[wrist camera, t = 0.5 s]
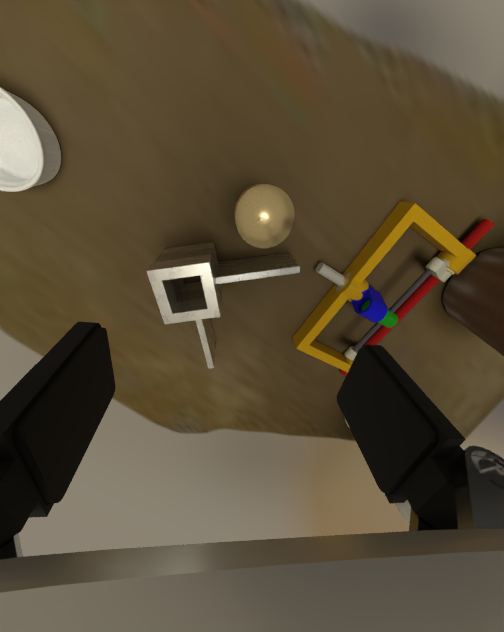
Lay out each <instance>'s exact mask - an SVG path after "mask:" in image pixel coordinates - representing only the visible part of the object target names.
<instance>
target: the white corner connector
mask: <svg viewBox="0 0 504 632" xmlns="http://www.w3.org/2000/svg"><path fill="white" fill-rule="evenodd" d="M294 273H300V266H299V265H298V264H297V262H296V261H295V260H294V258H293V257H292V256H291V255H290V253H282V254H275V255H267V256H260V257H253V258H245V259H238V260H230V261H223V262H218V261H217V256H216V250H215V245H214V242H209V243H202V244H194V245H187V246H179V247H172V248H166V249H165V250H164V251H163V252H162V254H161V255H160V256H159V257H158V258H157V259H156V261H155V262H154V263H153V264H152V265H151V266H150V268H149V269H148V270H147V274H148V277H149V280H150V283H151V286H152V289H153V292H154V294H155V297H156V300H157V303H158V306H159V309H160V312H161V315H162V318H163V321H164V324H171V323H178V322H185V321H192V320H196V324H197V327H198V331H199V335H200V339H201V342H202V346H203V350H204V353H205V357H206V361H207V365H208V368H209V369H210V368H214V362H215V349H216V342H215V337H214V333H213V329H212V324H211V320H210V318H214V317H220V315H221V298H222V283H228V282H235V281H243V280H250V279H257V278H265V277H272V276H279V275H287V274H294ZM199 275H200V277H201V281H198V282H190V283H185V282H184V277H191V276H199Z"/></svg>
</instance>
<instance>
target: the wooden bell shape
mask: <svg viewBox="0 0 504 632" xmlns="http://www.w3.org/2000/svg"><path fill="white" fill-rule="evenodd" d="M294 218H295V213H294V207H293V204H292V201H291V199H290V198H289V196H288V195H287V194H286V193H285V192H284V191H283V190H282V189H280V188H279V187H276V186H273V185H269V184H255V185H252V186H250V187H248V188H247V189H245V190H244V191H243V192H242V193H241V195H240V196H239V198H238V200H237V202H236V205H235V222H236V227H237V230H238V232H239V234H240V235H241V237H242V238H243V239H244V240H245V241H246V242H247V243H248V244H250V245H252V246H254V247H257V248H271V247H274V246H276V245H278V244H280V243H281V242H282V241H284V240H285V239H286V237H287V236H288V235H289V233H290V232H291V230H292V227H293V224H294Z"/></svg>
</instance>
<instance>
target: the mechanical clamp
mask: <svg viewBox="0 0 504 632" xmlns="http://www.w3.org/2000/svg"><path fill="white" fill-rule="evenodd" d="M494 225H495V224H494V223H493V222H492V221H490V220H487V219H483V220H482V221H481V222H480V223H479V224H478V225H477V226H476V227H475V228H474V229H473V231H472V232H471V233H470V234H469V235H468V236H467V237H466V238H465V239H464V240H463V241H462V242H461V243H460V242H459V241H458V240H457V239H456V238H455V237H454V236H452V235H451V234H450V233H449V232H448V231H447V230H445V229H444V228H443V227H442V226H441V225H440V224H439V223H437V222H436V221H435V220H434V219H433V218H432V217H431V216H429V215H428V214H427V213H426V212H425V211H424V210H422V209H421V208H420V207H419V206H418V205H417V204H416V203H411V202H404V201H400V203H399V204H398V205H397V206H396V208H395V209H394V210H393V211H392V213H391V214H390V215H389V216H388V218H387V219H386V220H385V222H384V223H383V224H382V225H381V227H380V228H379V229H378V230H377V232H376V233H375V234H374V235H373V237H372V238H371V239H370V240H369V242H368V243H367V244H366V245H365V247H364V248H363V249H362V251H361V252H360V253H359V254H358V256H357V257H356V258H355V259H354V261H353V262H352V263H351V264H350V266H349V267H348V268H347V269H346V271H345V272H344V273H343V275H342V274H340V273H338V272H337V271H335V270H334V269H332V268H331V267H329V266H327V265H326V264H324V263H323V262H321V263H319V264H318V266H317V267H316V272H318V273H319V274H321V275H322V276H324V277H326V278H327V279H329V280H331V281H332V282H334V283H335V285H334V286H333V287H332V288H331V290H330V291H329V292H328V293H327V295H326V296H325V297H324V298H323V300H322V301H321V302H320V304H319V305H318V306H317V307H316V309H315V310H314V311H313V312H312V314H311V315H310V316H309V317H308V319H307V320H306V321H305V322H304V324H303V325H302V326H301V328H300V329H299V330H298V331H297V333H296V334H295V335H294V336H293V338H292V339H293V342H294V344H295V347H296V349H298V350H301V351H303V352H305V353H307V354H309V355H311V356H313V357H316V358H318V359H320V360H322V361H324V362H326V363H328V364H331V365H333V366H335V367H337V368H339V371H340V372H341V373H342V374H343V375H345V376H346V375H347V373H348V371H349V369H350V367H351V365H352V363H353V361H354V359H355V357H356V354H357V352H358V350H359V349H360V348H362V347H363V346H364V345H366V344H370V345H376V344H377V343H378V342H379V341H380V340H381V339H382V338H383V337H384V336H385V335H386V334H387V333H388V332H389V331H390V330H391V329H392V328H393V327H394V326H395V325H396V324H397V323H398V322H399V321H400V320H401V319H402V318H403V317H404V316H405V315H406V314H407V313H408V312H409V311H410V310H411V309H412V308H413V307H414V306H415V305H416V304H417V303H418V302H419V301H420V300H421V299H422V298H423V297H424V296H425V295H426V294H427V293H428V292H429V291H430V290H431V289H432V288H433V287H434V286H435V285H436V284H437V283H438V282H439V281H441V282H443V283H444V282H445V281H446V280H447V279H448V278H449V277H450V276H451V275H454V274H456V275H458V274H459V273H460V272H461V271H462V270H463V269H464V268H465V267H466V266H467V265H468V264H469V263H470V262H471V261H472V260H473V259H474V258H475V257H476V255H475V254H474V253H473V252H472V251H471V250H470V249H471V248H472V247H473V246H474V245H475V244H476V243H477V242H478V241H479V240H480V239H481V238H482V237H483V236H484V235H485V234H486V233H487V232H488V231H489V230H490V229H491V228H492V227H493V226H494ZM409 226H411V227H412V228H413V229H414V230H415V231H417V232H418V233H419V234H420V235H422V236H423V237H424V238H425V239H426V240H428V241H429V242H430V243H431V244H433V245H434V246H435V247H436V248H437V249H439V250H440V251H441V252H440V253H439V254H438V255H437V256H436V257H434V258H433V259H432V260H431V261H430V262H429V263H428V264H427V265H426V266H425V267H426V269H427V270H426V271H425V272H424V273H423V274H422V275H421V276H420V277H419V278H418V279H417V280H416V281H415V283H414V284H413V285H412V286H411V287H410V288H409V289H408V290H407V291H406V292H405V293H404V294H403V295H402V296H401V297H400V298H399V299H398V301H397V302H396V303H395V304H394V305H393V306H392V307H391V308H390V309H389V310H388V309H387V306H386V304H385V302H384V300H383V298H382V296H381V294H380V293H379V292H378V291H377V290H375V289H374V288H372V287H370V286H369V285H368V282H367V281H366V280H365V278H366V277H367V276H368V275H369V273H370V272H371V271H372V270H373V269H374V268H375V266H376V265H377V264H378V263H379V262H380V260H381V259H382V258H383V257H384V256H385V254H386V253H387V252H388V251H389V250H390V249H391V247H392V246H393V245H394V244H395V243H396V241H397V240H398V239H399V238H400V237H401V235H402V234H403V233H404V232H405V231H406V230H407V228H408V227H409ZM347 300H349V301H350V302H352V304H353V306H354V309H355V312H356V313H358V314H360V315H361V316H363V317H365V318H366V319H368V320H370V321H372V322H377V323H376V324H375V325H374V326H373V327H372V328H371V329H370V330H369V331H368V332H367V333H366V334H365V335H364V337H363V338H362V339H361V340H360V341H359V342H358V343H357V344H356V345H355V346H351V347H350V348H349V349H348V350H347V351H346V352H345V353H344V354H342V353H340V352H337V351H335V350H333V349H331V348H329V347H327V346H325V345H323V344H321V343H319V342H317V341H315V340H314V339H315V338H316V336H317V335H318V334H319V333H320V332H321V330H322V329H323V328H324V327H325V326H326V325H327V323H328V322H329V321H330V320H331V319H332V317H333V316H334V315H335V314H336V313H337V311H338V310H339V309H340V308H341V307H342V306H343V304H344V303H345V302H346V301H347Z"/></svg>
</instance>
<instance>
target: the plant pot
mask: <svg viewBox="0 0 504 632" xmlns="http://www.w3.org/2000/svg"><path fill="white" fill-rule="evenodd" d="M443 304H444V306H445V308H446V312H447V313H448V314H449V315H450V316H451V317H453V318H454V319H456V320H457V321H458V322H460V323H461V324H462V325H464V326H465V327H466V328H468V329H469V330H470V331H472V332H473V333H474V334H475V335H477V336H478V337H479V338H481V339H482V340H483V341H485V342H486V343H487V344H489V345H490V346H491V347H493V348H494V349H495V350H496V351H498V352H499V353H500V354H501V355H503V356H504V248H494V249H489V250H486V251H483V252H481V253H479V254H478V256H477V257H475V258H474V259H473V260H472V261H471V262H470V263H469V264H468V265H467V266H466V267H465V268H464V269H463V270H462V271H461V272H460V273H459V274H458V275H456V274H454V275H452V277H451V278H450V280H449V281H448V283H447V285H446V288H445V290H444V294H443Z"/></svg>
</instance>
